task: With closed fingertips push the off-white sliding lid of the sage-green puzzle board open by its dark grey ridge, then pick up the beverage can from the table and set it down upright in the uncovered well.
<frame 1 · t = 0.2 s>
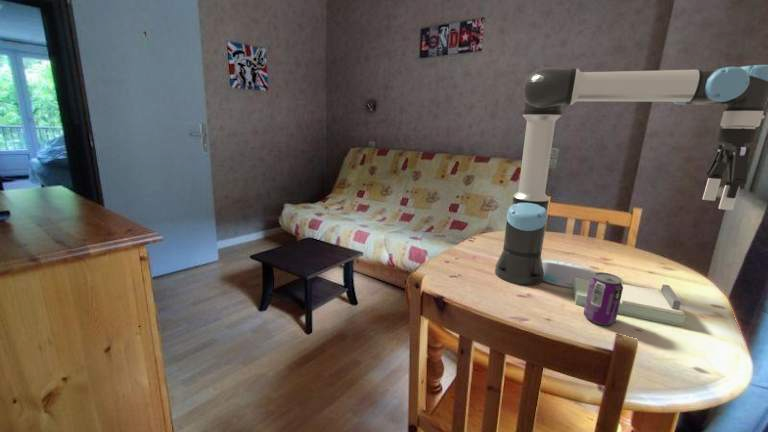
hand: (716, 204, 98), 28 cm above the table, fingers open, 13 cm apart
lid: (647, 293, 93), point 5 cm above the table, slide at 0.0 cm
beverage can: (598, 320, 89), on the table
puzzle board: (621, 304, 97), on the table
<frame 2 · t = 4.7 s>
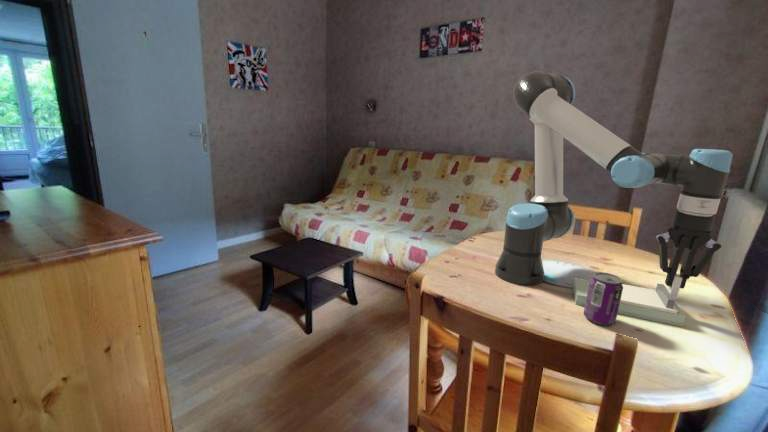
hand: (670, 297, 91), 5 cm above the table, fingers closed
lid: (641, 292, 94), point 5 cm above the table, slide at 1.2 cm, touching gripper
everything else where it was.
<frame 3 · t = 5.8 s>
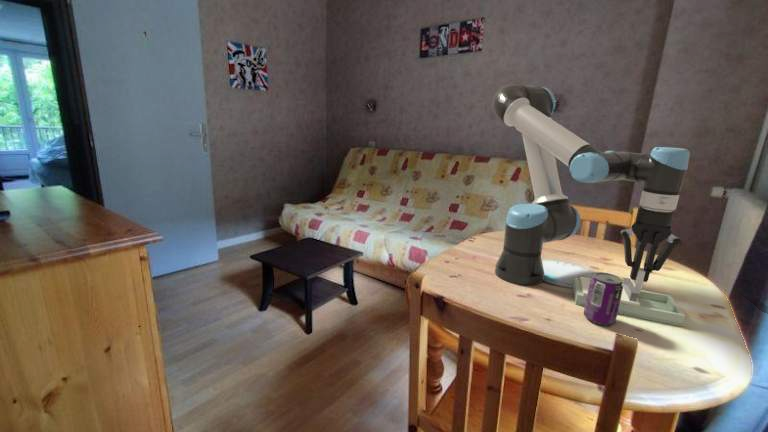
hand: (635, 290, 95), 5 cm above the table, fingers closed
lid: (608, 286, 97), point 5 cm above the table, slide at 9.1 cm, touching gripper
everything else where it was.
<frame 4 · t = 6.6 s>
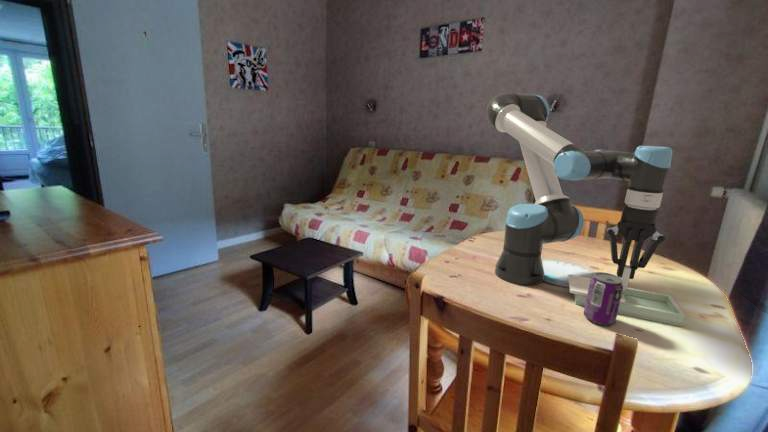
hand: (622, 288, 96), 5 cm above the table, fingers closed
lid: (595, 284, 98), point 5 cm above the table, slide at 12.3 cm, touching gripper
everything else where it was.
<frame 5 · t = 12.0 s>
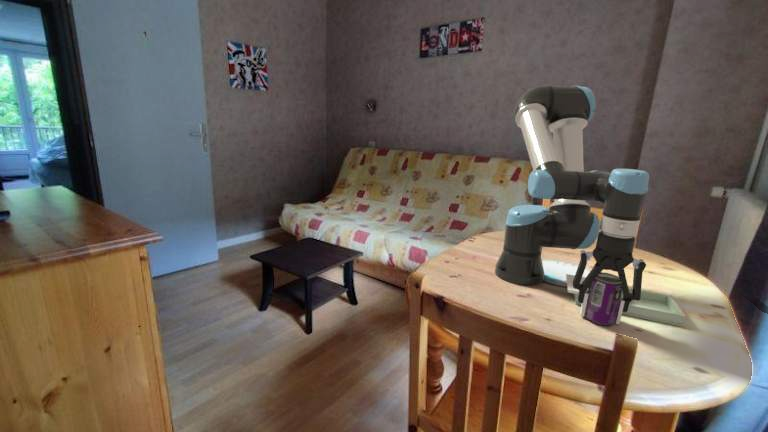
hand: (599, 317, 89), 1 cm above the table, fingers closed on beverage can, 7 cm apart
lid: (593, 283, 99), point 5 cm above the table, slide at 12.8 cm
beverage can: (598, 320, 89), on the table, touching gripper
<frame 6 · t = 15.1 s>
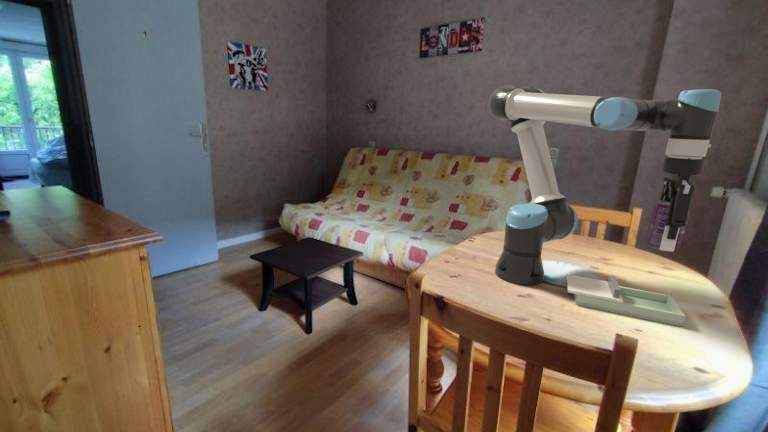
hand: (662, 245, 89), 19 cm above the table, fingers closed on beverage can, 7 cm apart
beverage can: (661, 248, 90), point 18 cm above the table, touching gripper
everything else where it was.
when the fingers open (3 cm above the table, at t = 18.2 s): beverage can drops 1 cm, resting on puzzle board.
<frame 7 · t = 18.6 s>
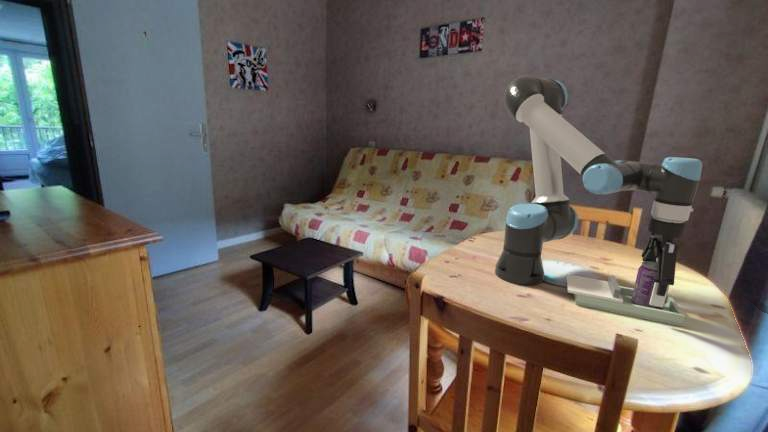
hand: (649, 294, 93), 5 cm above the table, fingers open, 13 cm apart
beverage can: (646, 306, 94), point 1 cm above the table, touching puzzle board
everything else where it was.
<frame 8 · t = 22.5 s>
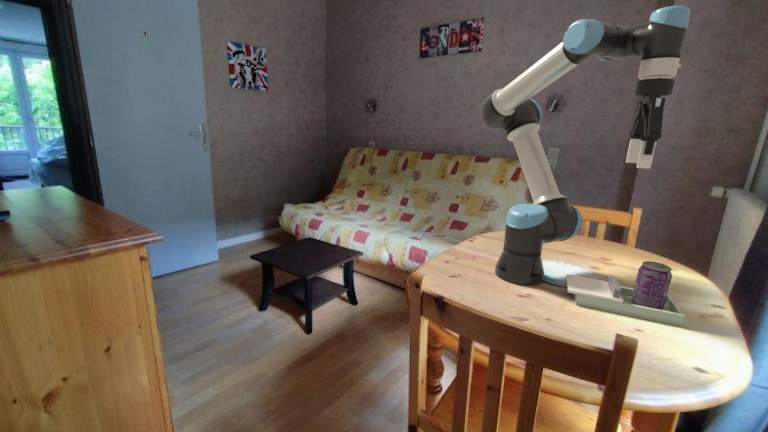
hand: (637, 165, 90), 39 cm above the table, fingers open, 13 cm apart
nothing on the table moved.
at the end: lid slide at 12.8 cm; beverage can inside the target area on the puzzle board (0.1 cm from its centre), point 0.8 cm above the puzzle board's base; beverage can tilted 0° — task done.
